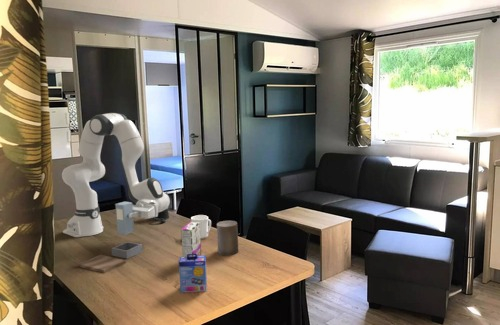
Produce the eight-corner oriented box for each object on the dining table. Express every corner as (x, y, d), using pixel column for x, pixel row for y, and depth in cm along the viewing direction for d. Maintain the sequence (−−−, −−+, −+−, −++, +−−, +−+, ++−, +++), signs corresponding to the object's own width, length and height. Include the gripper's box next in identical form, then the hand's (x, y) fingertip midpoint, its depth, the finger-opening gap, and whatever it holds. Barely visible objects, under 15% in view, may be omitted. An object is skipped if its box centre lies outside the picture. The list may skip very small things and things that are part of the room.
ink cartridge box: (179, 293, 150) (177, 255, 148) (181, 286, 155) (179, 250, 153) (206, 291, 150) (205, 254, 148) (207, 285, 156) (205, 248, 154)
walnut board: (78, 266, 178) (78, 263, 177) (100, 257, 188) (100, 254, 188) (104, 273, 170) (104, 270, 170) (125, 262, 180) (125, 260, 180)
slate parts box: (117, 233, 189) (115, 204, 187) (126, 230, 194) (124, 201, 192) (125, 235, 187) (123, 205, 185) (134, 231, 192) (132, 202, 190)
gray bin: (112, 255, 190) (111, 248, 189) (128, 248, 199) (127, 241, 198) (127, 258, 185) (126, 251, 185) (142, 251, 194) (142, 244, 194)
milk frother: (164, 215, 258) (163, 192, 256) (178, 220, 246) (176, 196, 244) (144, 220, 248) (142, 196, 246) (157, 225, 237) (155, 200, 235)
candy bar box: (191, 256, 186) (189, 221, 184) (201, 257, 185) (200, 222, 183) (182, 266, 175) (180, 229, 173) (193, 266, 174) (191, 229, 172)
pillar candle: (242, 251, 191) (241, 220, 189) (227, 257, 184) (226, 224, 182) (228, 246, 198) (227, 216, 196) (213, 252, 191) (212, 221, 189)
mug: (188, 238, 212) (187, 219, 210) (197, 233, 220) (196, 214, 218) (207, 240, 208) (206, 220, 206) (215, 235, 216) (214, 216, 214)
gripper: (128, 199, 205) (106, 206, 193) (159, 204, 195) (139, 211, 183) (129, 212, 206) (107, 219, 194) (160, 216, 196) (139, 224, 184)
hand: (123, 215), depth 189 cm, fingers closed on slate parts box, 5 cm apart
